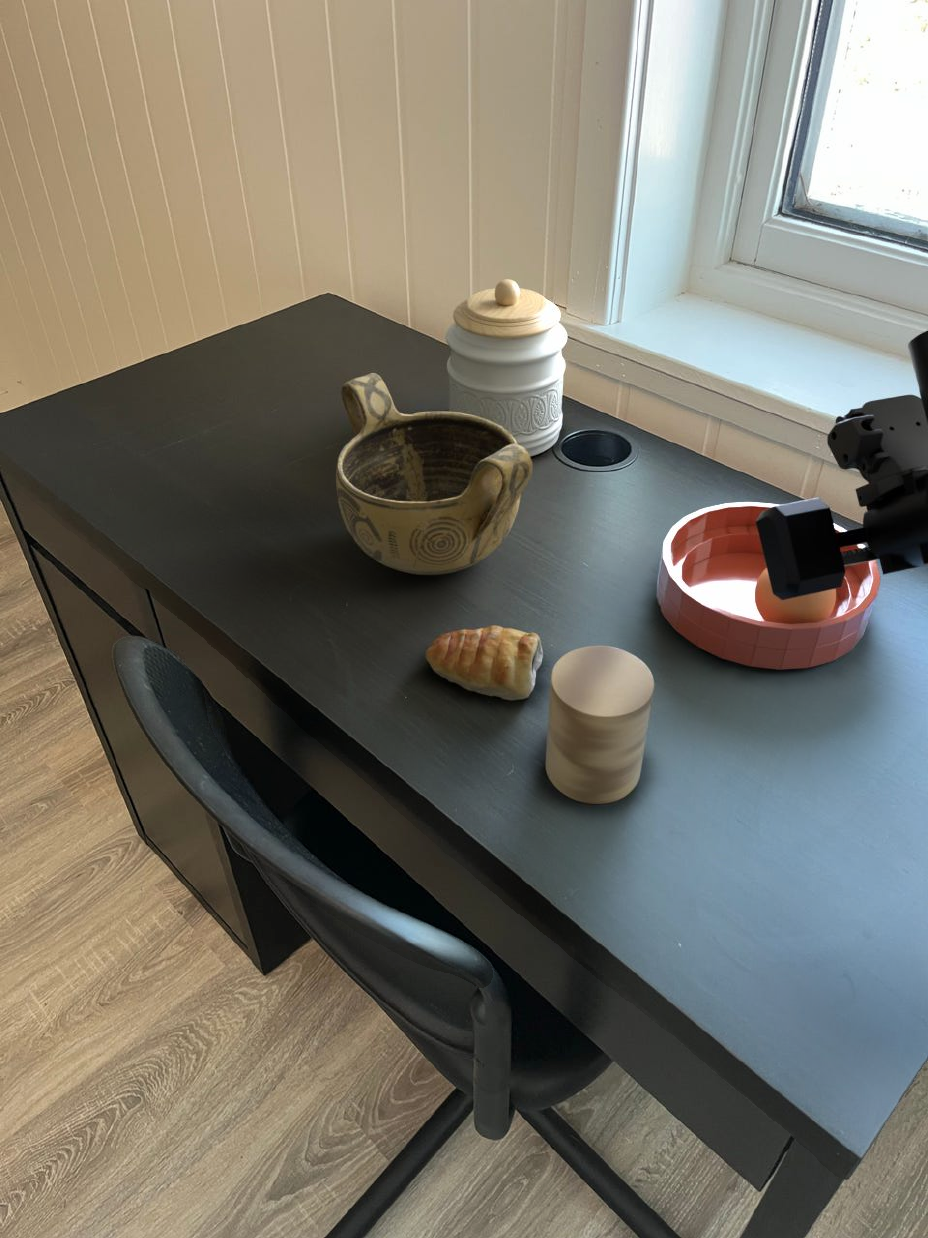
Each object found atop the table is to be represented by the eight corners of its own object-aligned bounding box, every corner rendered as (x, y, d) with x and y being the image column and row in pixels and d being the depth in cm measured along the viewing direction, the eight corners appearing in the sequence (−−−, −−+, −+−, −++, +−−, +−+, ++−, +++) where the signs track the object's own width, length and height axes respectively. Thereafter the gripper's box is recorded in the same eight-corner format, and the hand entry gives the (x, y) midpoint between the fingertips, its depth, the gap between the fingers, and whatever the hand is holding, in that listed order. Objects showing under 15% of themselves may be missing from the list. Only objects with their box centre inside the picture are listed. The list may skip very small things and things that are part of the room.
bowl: (877, 574, 87) (892, 529, 84) (847, 700, 75) (863, 653, 72) (686, 528, 93) (693, 485, 90) (629, 637, 81) (635, 592, 78)
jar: (489, 396, 115) (490, 249, 104) (582, 425, 109) (593, 273, 98) (425, 441, 107) (418, 287, 96) (522, 474, 101) (526, 315, 90)
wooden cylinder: (652, 749, 71) (666, 662, 66) (622, 817, 67) (636, 729, 61) (565, 721, 74) (572, 634, 68) (531, 784, 69) (535, 697, 63)
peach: (842, 638, 80) (863, 562, 75) (786, 664, 77) (804, 588, 72) (786, 599, 84) (803, 525, 79) (731, 623, 81) (745, 548, 77)
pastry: (418, 690, 77) (416, 655, 74) (437, 637, 82) (436, 602, 79) (532, 706, 75) (534, 671, 73) (545, 651, 80) (547, 616, 78)
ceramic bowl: (578, 567, 89) (590, 424, 79) (442, 650, 80) (436, 501, 71) (426, 475, 102) (419, 342, 92) (294, 538, 93) (271, 399, 83)
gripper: (1060, 359, 60) (903, 433, 75) (801, 402, 56) (691, 471, 72) (1105, 528, 59) (937, 569, 75) (846, 583, 56) (725, 614, 71)
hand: (824, 552), depth 73 cm, fingers open, 9 cm apart
